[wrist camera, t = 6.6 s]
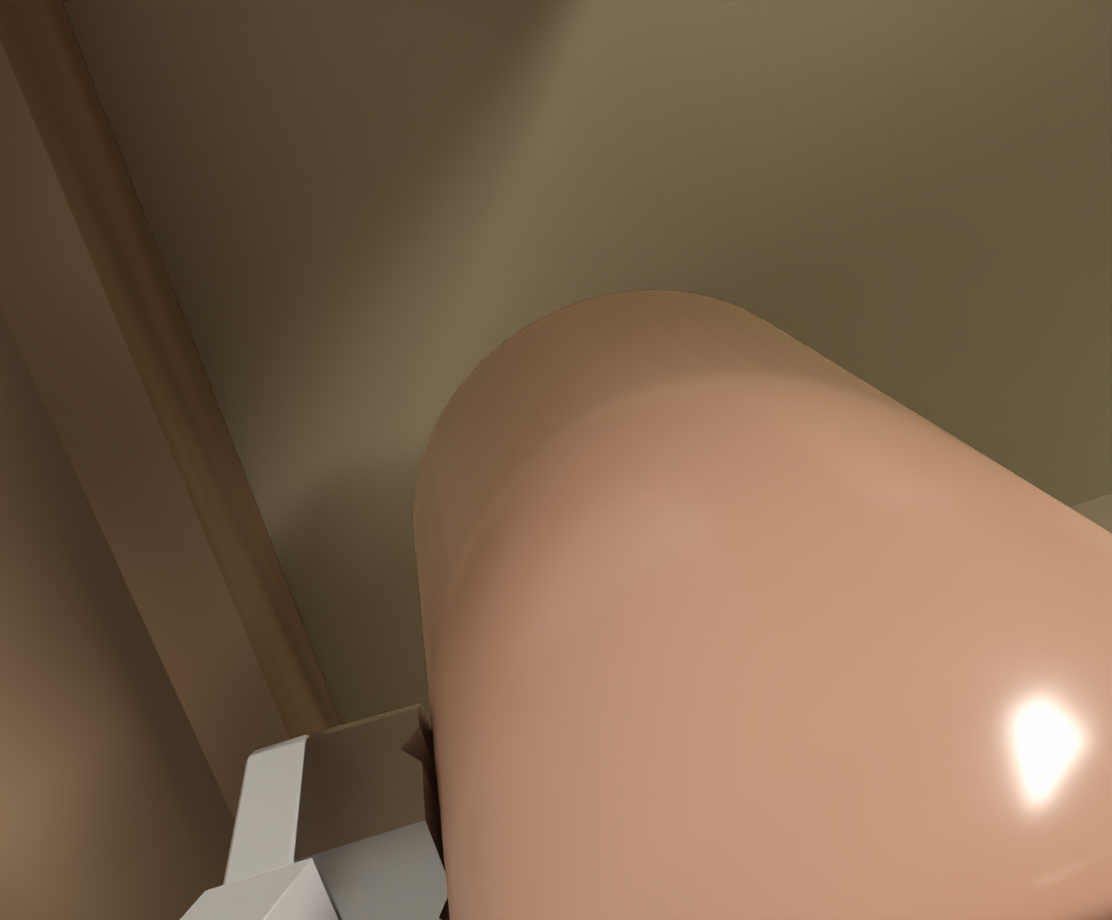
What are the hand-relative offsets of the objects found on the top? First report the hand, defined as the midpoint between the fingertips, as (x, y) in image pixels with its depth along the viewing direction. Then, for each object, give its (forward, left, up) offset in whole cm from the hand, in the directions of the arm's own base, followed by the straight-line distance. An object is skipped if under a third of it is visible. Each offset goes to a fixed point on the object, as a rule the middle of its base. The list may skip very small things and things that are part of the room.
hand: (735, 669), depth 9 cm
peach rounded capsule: (0, 0, -4) cm, 4 cm away
